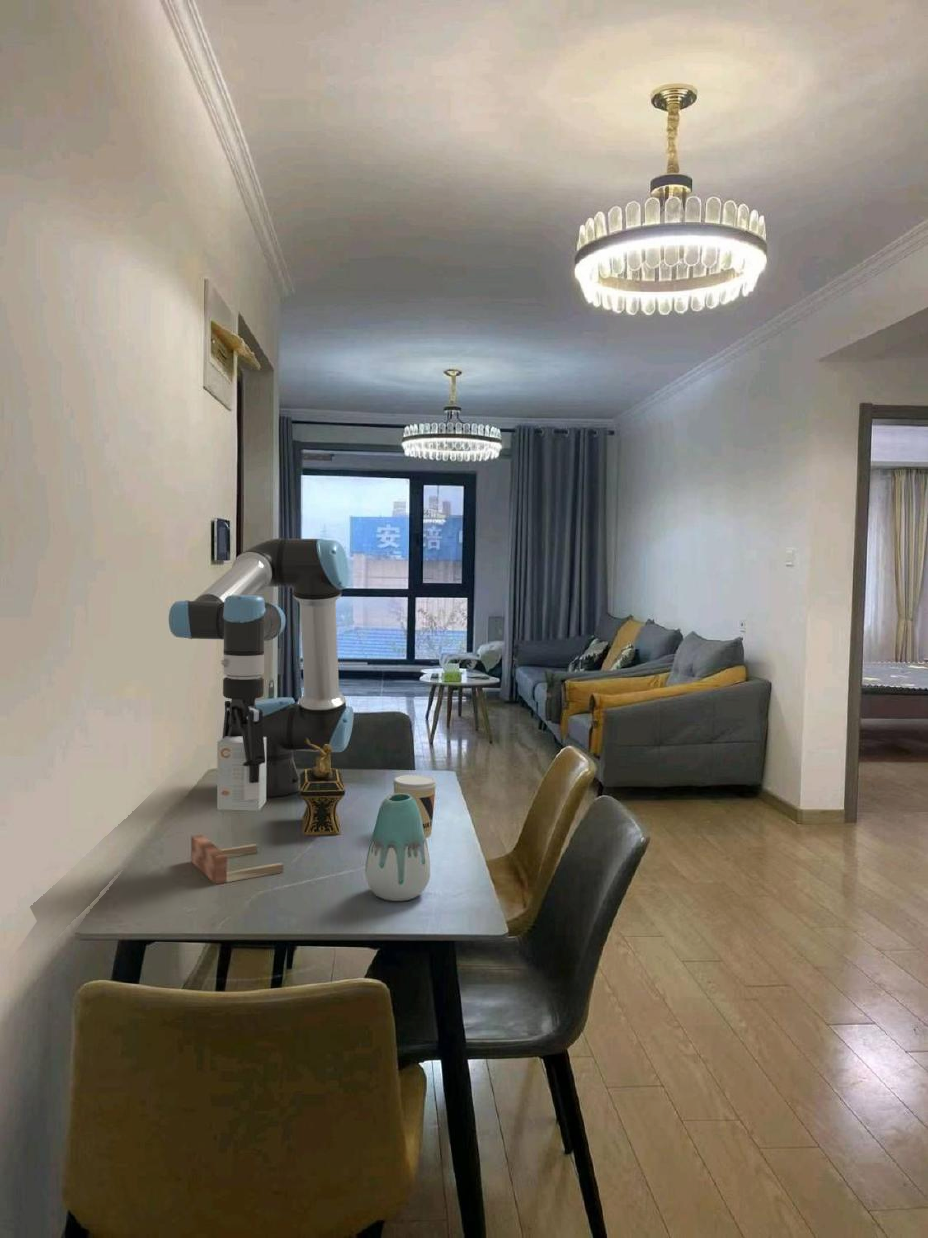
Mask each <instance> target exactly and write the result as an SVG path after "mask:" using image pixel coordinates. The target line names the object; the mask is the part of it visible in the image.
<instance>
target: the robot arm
mask: <svg viewBox="0 0 928 1238" xmlns="http://www.w3.org/2000/svg"><path fill="white" fill-rule="evenodd" d="M348 583H349V563H348V557H347V554H346V551H345V549H344V548H343V545H342V544H341V543H340V542H339V541H338V540H335V539H324V538H282V537H279V538H272V539H268V540H265V541H262V542H259V543H258V544H255V545H253V546H251V547H249V548H247V549H246V550H244V551H243V552H242V553H240V554H239V555H238V556H236V558H234V560H233V562H232V566H231V568H230V569H228V570H227V571H226V572H225V573H224V574H223V575H221V577H219V578H218V579H217V580H216V581H215V582H214V583H212V584H211V585H210V586H209V587H208V588H206V589H205V591H203V592H202V593H201V594H200V595H198V596H197V597H196V598H195V599H194V600H186V599H185V600H177V601H175V602H174V603H173V604H172V605H171V607H170V608H169V612H168V625H169V629H170V632H171V634H172V635H173V636H174V637H176V638H180V639H181V638H182V639H184V638H185V639H189V640H196V639H197V640H223V659H221V660H220V663H221V665H222V666H223V672H222V673H223V675H225V676H224V678H223V680H222V695H223V697H224V698H226V699H229V700H225V701H224V719H223V726H222V729H223V730H222V738H221V739H223V738H224V737H226V736H230V737H234V736H241V737H243V743H244V749H245V755H246V762H245V763H244V764H243V766H245V768H244V800H253V799H259V798H260V765H261V763H265V750H264V738H263V737H266V798H271V797H282V796H283V797H284V796H288V795H291V794H292V795H293V794H295V793H297V792H300V785H299V783H300V775H299V774H298V770H297V767H296V764H295V761H294V751H297V752H298V751H299V752H301V751H302V752H314V753H315V752H317V753H320V752H319V751H318V750H317V749H315V748H314V747H312V746H310V745H308V744H307V743H306V742H307V739H306V738H308V740H309V742H310V744H313V745H316V746H318V747H320V749H322V748H323V747H324V745H325V744H328V745H331V746H332V753H342V752H343V751H344V750H346V748H347V746H348V745H349V742H350V740H351V735H352V730H353V727H354V726H353V725H354V713H355V712H354V708H353V707H352V706H350V705H347V703H346V697H345V696H344V694H342V693H341V692H340V685H339V684H340V682H339V659H338V658H339V655H338V636H337V635H338V634H337V631H338V630H337V609H336V608H337V607H336V601H337V600H338V599H339V598H340V597H341V596H342V590H343V589H346V588H347V586H348ZM268 587H278V588H279V587H280V588H282V587H283V588H291V589H292V597H293V598H294V600H296V601H297V602H298V603H299V614H300V615H299V616H300V635H301V652H302V653H301V654H302V673H303V675H302V676H303V691H304V693H303V695H302V696H301V697H300V698H299V700H298V703H297V704H295V703H296V702H295V699H294V698H293V697H288V696H287V697H275V698H273V697H272V698H267V699H261V700H257V699H260V698H262V697H263V696H264V692H265V691H264V688H265V686H264V685H265V684H264V681H265V679H264V678H263V677H262V675H264V674H265V642H267V641H268V642H269V641H271V640H273V639H275V638H277V637H278V636H280V634H282V633H283V631H284V629H285V627H286V614H285V613H284V611H283V609H281V607H280V606H279V605H276V604H275V603H272V602H268V601H267V602H265V599H264V598H265V597H262V596H261V595H255V593H256V592H257V593H258V592H261V591H263V590H265V589H266V588H268ZM256 700H257V701H256ZM305 741H306V742H305Z"/></svg>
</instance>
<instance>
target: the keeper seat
mask: <svg viewBox="0 0 928 1238" xmlns="http://www.w3.org/2000/svg"><path fill="white" fill-rule="evenodd" d="M190 838H191V839H190V841H191V843H190V845H191V846H190V847H191V848H190V851H191V853H190V854H191V855H190V857H191V858H190V861H191V863H192V864H193V865H194V866H195V867H197V868H198V869H199V870H200V871H201V872H202V873H203V874H204V875H205V876H206V877H207V878H208V879H210V881H212V883H214V884H215V885H219V884H224V883H230V882H236V881H241V880H242V881H243V880H247V879H253V878H259V877H264V876H270V875H271V876H272V875H275V874H280V873H284V863H282V862H278V863H271V864H266V865H265V864H264V865H260V866H253V867H249V868H242V869H237V870H231V871H228V870H227V869H228V867H227V866H228V863H227V862H228V858H235V857H239V856H246V855H251V854H252V855H253V854H258V848H259V847H258V844H256V843H253V844H246V845H245V844H244V845H241V846H233V847H226V848H222V849H220V848H218V847H217V846H216V845H215V844H213V843H212V842H211V841H210V840H209V839H208V838H206V837H205V836H204V835H203V834H198V835H192V836H191V837H190Z"/></svg>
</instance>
